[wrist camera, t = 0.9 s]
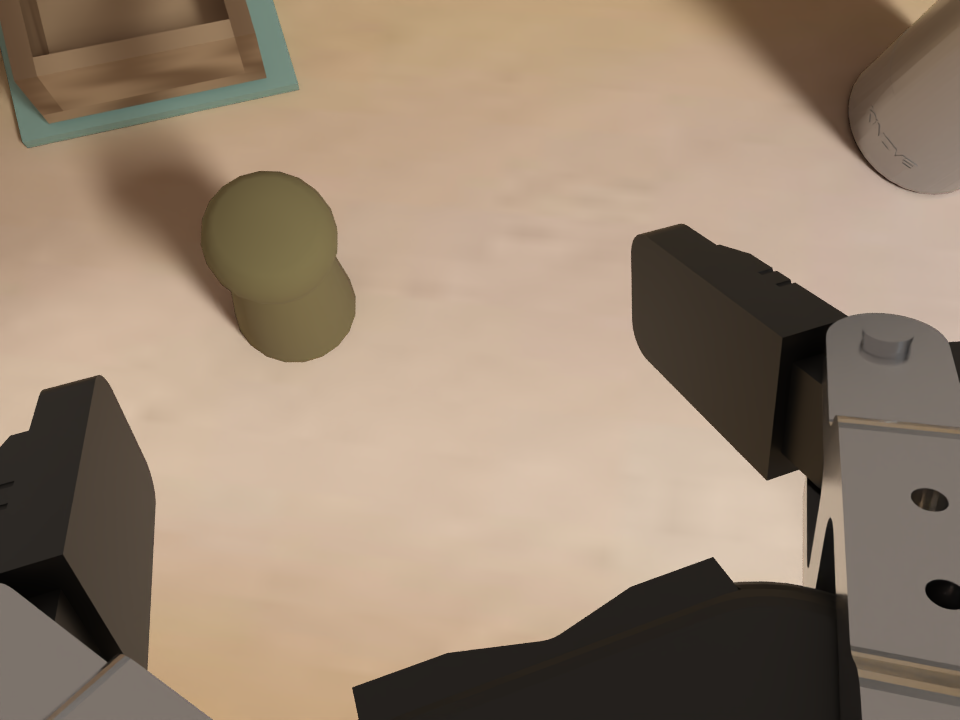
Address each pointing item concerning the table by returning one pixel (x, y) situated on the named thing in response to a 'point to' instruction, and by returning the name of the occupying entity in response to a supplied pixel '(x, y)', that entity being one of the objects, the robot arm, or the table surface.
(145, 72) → the wooden tray
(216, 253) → the olive knob
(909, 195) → the table surface
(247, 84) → the track and backstop
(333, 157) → the table surface
